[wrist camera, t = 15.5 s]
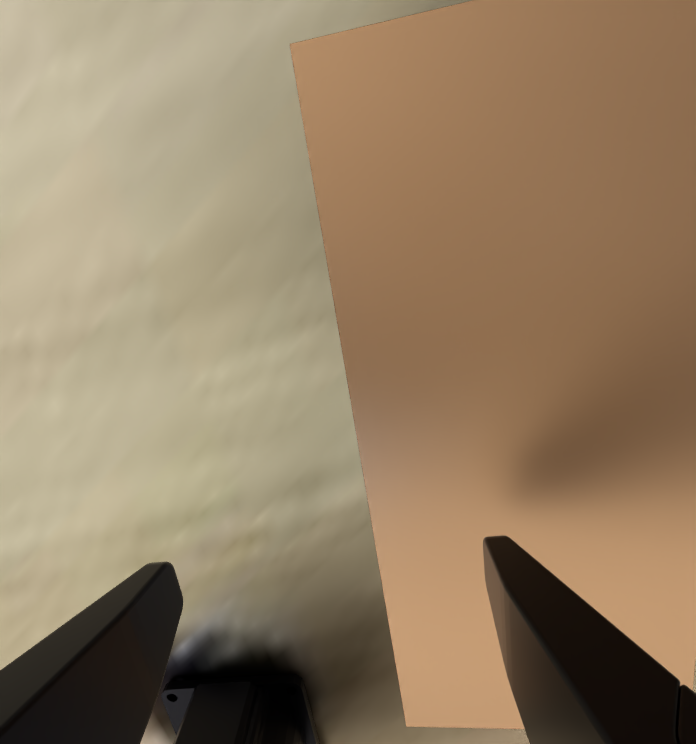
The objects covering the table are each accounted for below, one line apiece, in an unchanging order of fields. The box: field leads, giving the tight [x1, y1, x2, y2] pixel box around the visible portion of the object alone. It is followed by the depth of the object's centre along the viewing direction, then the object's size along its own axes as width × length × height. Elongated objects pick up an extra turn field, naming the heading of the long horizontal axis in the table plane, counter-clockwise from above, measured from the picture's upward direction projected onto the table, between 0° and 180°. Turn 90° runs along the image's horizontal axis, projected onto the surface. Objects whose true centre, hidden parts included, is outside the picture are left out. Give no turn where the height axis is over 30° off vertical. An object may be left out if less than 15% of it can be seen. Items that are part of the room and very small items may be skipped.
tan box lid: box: [290, 0, 696, 729], centre depth 9 cm, size 15×6×1 cm, turn 9°
